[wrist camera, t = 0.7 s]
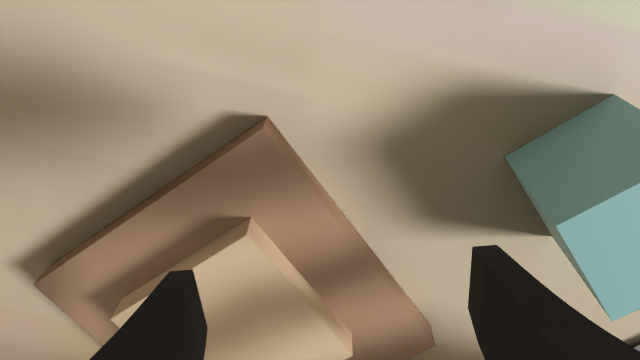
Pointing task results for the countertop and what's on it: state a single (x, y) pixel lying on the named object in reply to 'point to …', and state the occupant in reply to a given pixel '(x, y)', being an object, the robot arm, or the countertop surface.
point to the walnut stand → (246, 263)
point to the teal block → (591, 197)
